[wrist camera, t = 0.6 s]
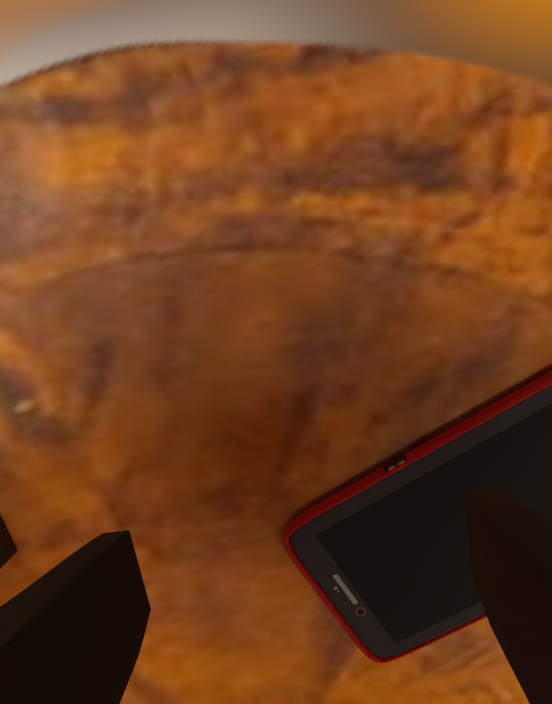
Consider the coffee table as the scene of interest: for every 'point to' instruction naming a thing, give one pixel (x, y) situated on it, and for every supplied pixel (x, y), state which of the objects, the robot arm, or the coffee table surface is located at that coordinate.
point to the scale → (5, 546)
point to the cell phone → (423, 526)
